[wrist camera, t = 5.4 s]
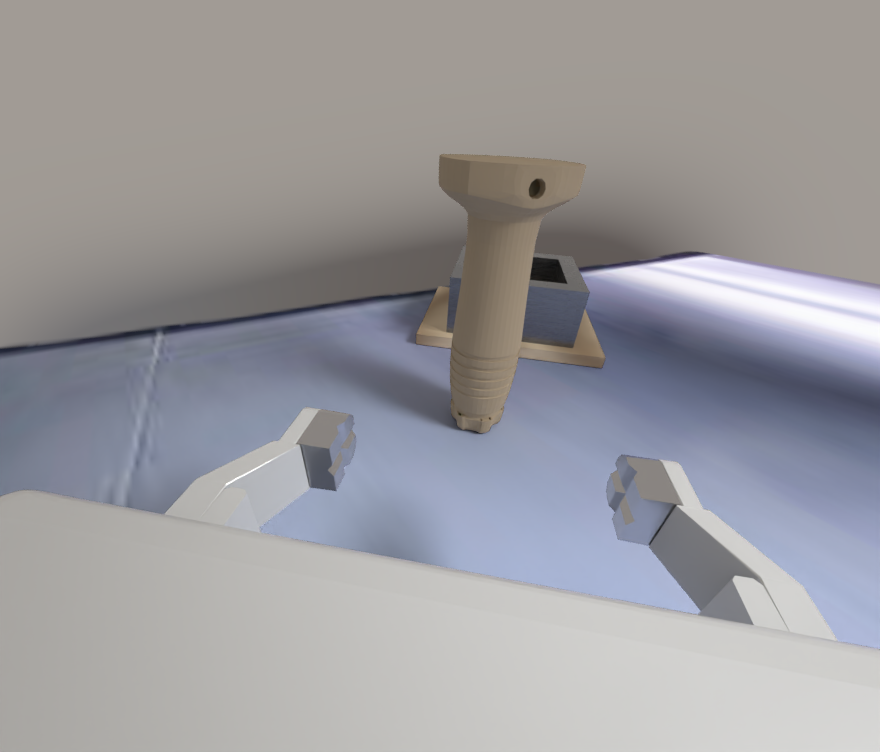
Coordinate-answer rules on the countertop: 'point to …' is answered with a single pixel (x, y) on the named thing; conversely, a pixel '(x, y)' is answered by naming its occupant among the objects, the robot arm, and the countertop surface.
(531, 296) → the square frame
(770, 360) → the countertop surface
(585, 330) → the base board
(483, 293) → the handle
